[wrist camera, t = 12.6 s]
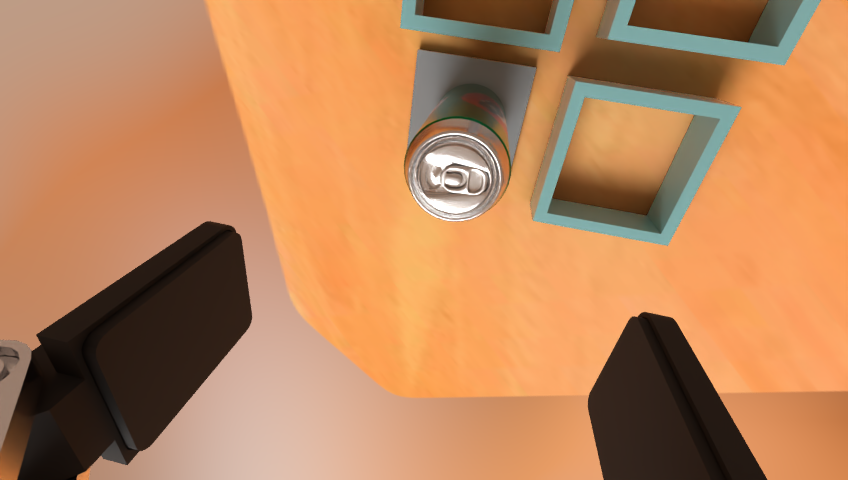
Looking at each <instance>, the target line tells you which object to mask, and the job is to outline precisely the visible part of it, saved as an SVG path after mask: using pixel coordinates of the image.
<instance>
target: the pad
mask: <svg viewBox="0 0 848 480" xmlns="http://www.w3.org/2000/svg"><path fill="white" fill-rule="evenodd" d="M535 72H536V67H533V66H526V65H520V64H514V63H507V62H501V61H494V60H488V59H481V58H475V57H468V56H462V55H455V54H449V53H442V52H436V51H430V50H423V49H418V53H417V62H416V71H415V81H414V90H413V100H412V109H411V119H410V128H409V138H408V147H409V144H410V142H411V141H412V139H413V138H414V136H415V135H416V134H417V132H418V131H419V129H420V128H421V126H422V125H423V124H424V122H425V121H426V119H427V118H428V117H429V115H430V114H431V112H432V111H433V109H434V108H435V107H436V105H437V104H438V102H439V101H440V99H441V98H442V97H443V96H444V95H445V94H446V93H447V92H448V91H449V90H451V89H453V88H454V87H456V86H459V85H463V84H479V85H482V86H485V87H487V88H489V89H490V90H492V91H493V92H494V93H495V94H496V95H497V96H498V97H499V99H500V100H501V102H502V104H503V106H504V109H505V113H506V122H507V132H508V141H509V151H510V160H511V166H512V163H513V159H514V155H515V151H516V147H517V143H518V139H519V135H520V131H521V127H522V123H523V119H524V115H525V111H526V108H527V104H528V100H529V96H530V92H531V88H532V84H533V80H534V76H535ZM408 147H407V149H408Z"/></svg>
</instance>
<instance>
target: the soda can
mask: <svg viewBox="0 0 848 480" xmlns="http://www.w3.org/2000/svg"><path fill="white" fill-rule="evenodd" d="M404 174H405V178H406V182H407V185H408V187H409V190H410V191H411V193H412V196H413V197H414V199H415V201H416V202H417V203H418V204H419V206H420V207H421V208H422V209H423V210H425V211H426V212H427V213H429V214H430V215H432V216H434V217H436V218H439V219H442V220H445V221H452V222H460V221H467V220H471V219H474V218H476V217H478V216H480V215H482V214H483V213H485V212H486V211H488V210H489V209H491V208H492V207H493V206H494V205H495V204H496V203H497V202H498V201H499V200H500V199H501V198H502V196H503V194H504V193H505V191H506V189H507V187H508V184H509V180H510V176H511V160H510V151H509V141H508V132H507V122H506V113H505V109H504V106H503V104H502V102H501V100H500V99H499V97H498V96H497V95H496V94H495V93H494V92H493V91H492V90H490V89H489V88H487V87H485V86H482V85H479V84H463V85H459V86H456V87H454V88H453V89H451V90H449V91H448V92H447V93H446V94H445V95H444V96H443V97H442V98H441V99H440V101H439V102H438V104H437V105H436V107H435V108H434V109H433V111H432V112H431V114H430V115H429V117H428V118H427V119H426V121H425V122H424V124H423V125H422V126H421V128H420V129H419V131H418V132H417V134H416V135H415V136H414V138H413V139H412V141H411V142H410V144H409V147H408V149H407V152H406V155H405V161H404Z"/></svg>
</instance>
